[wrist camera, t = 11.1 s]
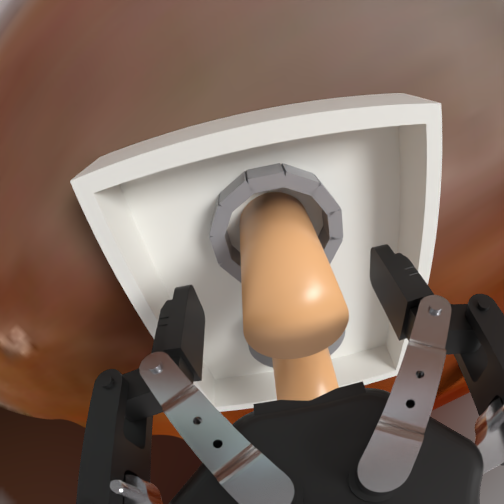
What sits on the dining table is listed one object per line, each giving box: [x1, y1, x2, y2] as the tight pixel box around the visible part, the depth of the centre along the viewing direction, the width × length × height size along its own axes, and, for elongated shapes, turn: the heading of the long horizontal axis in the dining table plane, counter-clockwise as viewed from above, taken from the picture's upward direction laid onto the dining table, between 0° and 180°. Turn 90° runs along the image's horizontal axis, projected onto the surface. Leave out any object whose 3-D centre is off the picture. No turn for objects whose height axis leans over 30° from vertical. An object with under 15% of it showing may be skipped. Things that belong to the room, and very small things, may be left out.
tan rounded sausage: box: [239, 192, 349, 359], centre depth 14 cm, size 4×4×8 cm
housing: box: [70, 93, 442, 412], centre depth 17 cm, size 18×22×9 cm
